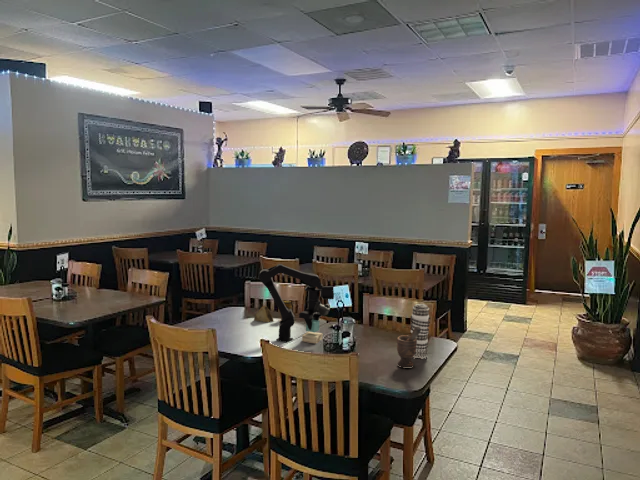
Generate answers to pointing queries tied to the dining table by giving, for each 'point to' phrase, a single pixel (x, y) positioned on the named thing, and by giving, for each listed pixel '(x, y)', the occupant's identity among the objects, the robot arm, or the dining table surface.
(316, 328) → the teal cube
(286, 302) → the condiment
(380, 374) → the dining table surface
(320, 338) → the beech block
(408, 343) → the mortar and pestle
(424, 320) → the decorative candle
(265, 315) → the rock
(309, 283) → the robot arm
